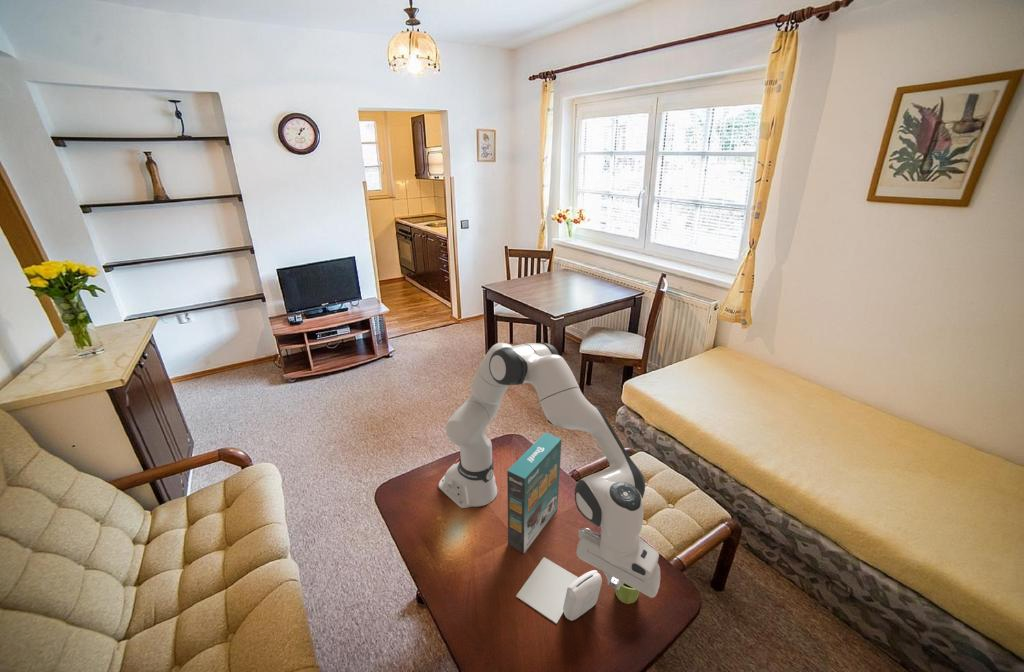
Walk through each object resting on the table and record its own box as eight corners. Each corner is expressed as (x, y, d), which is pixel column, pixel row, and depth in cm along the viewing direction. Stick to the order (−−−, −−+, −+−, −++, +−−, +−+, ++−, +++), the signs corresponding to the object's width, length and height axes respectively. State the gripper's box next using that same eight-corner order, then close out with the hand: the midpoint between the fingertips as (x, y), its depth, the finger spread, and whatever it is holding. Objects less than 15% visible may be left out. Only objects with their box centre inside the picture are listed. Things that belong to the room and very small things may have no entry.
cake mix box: (542, 501, 149) (545, 432, 137) (557, 508, 146) (561, 438, 134) (507, 544, 133) (507, 470, 121) (523, 553, 130) (524, 478, 118)
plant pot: (637, 617, 112) (641, 595, 108) (604, 599, 116) (607, 578, 113) (647, 589, 119) (651, 568, 116) (615, 573, 124) (618, 552, 120)
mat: (516, 596, 117) (516, 595, 117) (543, 557, 128) (543, 556, 128) (556, 624, 110) (556, 623, 110) (582, 580, 121) (582, 579, 121)
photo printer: (588, 590, 118) (594, 562, 113) (598, 603, 115) (606, 576, 109) (560, 610, 113) (565, 582, 107) (570, 624, 110) (576, 596, 104)
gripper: (573, 533, 101) (570, 573, 107) (657, 577, 91) (650, 619, 96) (584, 516, 106) (581, 555, 112) (666, 556, 95) (658, 597, 101)
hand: (614, 585), depth 104 cm, fingers closed
